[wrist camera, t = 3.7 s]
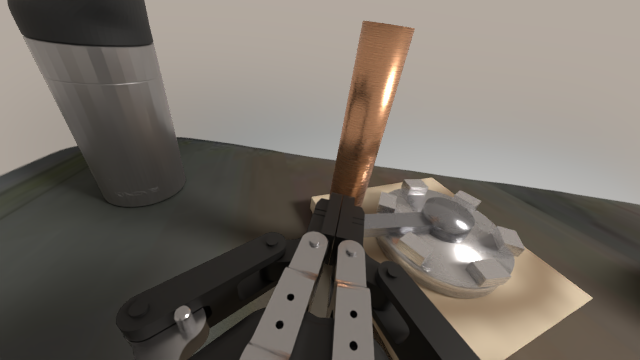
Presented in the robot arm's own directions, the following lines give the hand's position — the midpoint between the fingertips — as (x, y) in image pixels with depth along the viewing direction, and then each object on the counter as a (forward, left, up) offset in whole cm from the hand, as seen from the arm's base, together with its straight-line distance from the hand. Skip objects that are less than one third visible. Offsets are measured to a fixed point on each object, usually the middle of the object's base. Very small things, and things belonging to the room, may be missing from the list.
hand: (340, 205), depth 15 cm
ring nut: (-2, +12, -10) cm, 16 cm away
